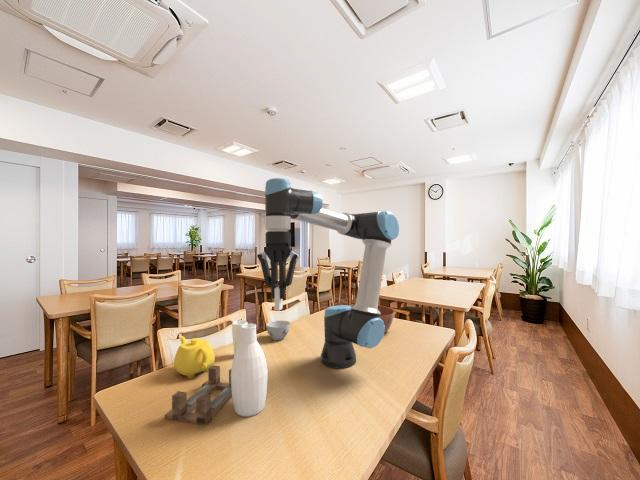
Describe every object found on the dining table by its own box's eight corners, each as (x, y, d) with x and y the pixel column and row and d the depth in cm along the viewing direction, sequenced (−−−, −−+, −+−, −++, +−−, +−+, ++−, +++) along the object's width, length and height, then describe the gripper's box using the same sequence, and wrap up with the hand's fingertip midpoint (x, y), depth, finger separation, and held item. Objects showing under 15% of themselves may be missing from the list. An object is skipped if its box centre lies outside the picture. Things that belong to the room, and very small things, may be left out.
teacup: (295, 337, 143) (295, 322, 143) (277, 345, 134) (277, 328, 134) (276, 331, 153) (276, 317, 153) (258, 338, 143) (258, 323, 143)
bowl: (400, 338, 141) (399, 316, 141) (352, 338, 142) (352, 316, 142) (388, 323, 166) (388, 304, 166) (348, 323, 167) (347, 305, 167)
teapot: (188, 385, 97) (188, 350, 97) (163, 369, 109) (163, 338, 109) (222, 370, 108) (222, 338, 108) (196, 357, 120) (196, 329, 120)
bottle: (223, 417, 79) (222, 330, 79) (241, 396, 90) (240, 319, 90) (259, 421, 77) (259, 332, 77) (273, 398, 88) (272, 321, 88)
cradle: (241, 388, 95) (241, 368, 95) (207, 425, 76) (207, 400, 76) (206, 383, 98) (206, 364, 98) (164, 418, 79) (164, 394, 79)
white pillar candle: (243, 359, 118) (243, 325, 118) (229, 358, 119) (229, 324, 119) (250, 353, 124) (250, 320, 124) (237, 352, 125) (236, 319, 125)
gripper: (302, 231, 84) (302, 307, 84) (263, 231, 86) (263, 305, 86) (295, 230, 76) (295, 313, 76) (252, 230, 79) (253, 311, 79)
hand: (278, 309), depth 81 cm, fingers closed
